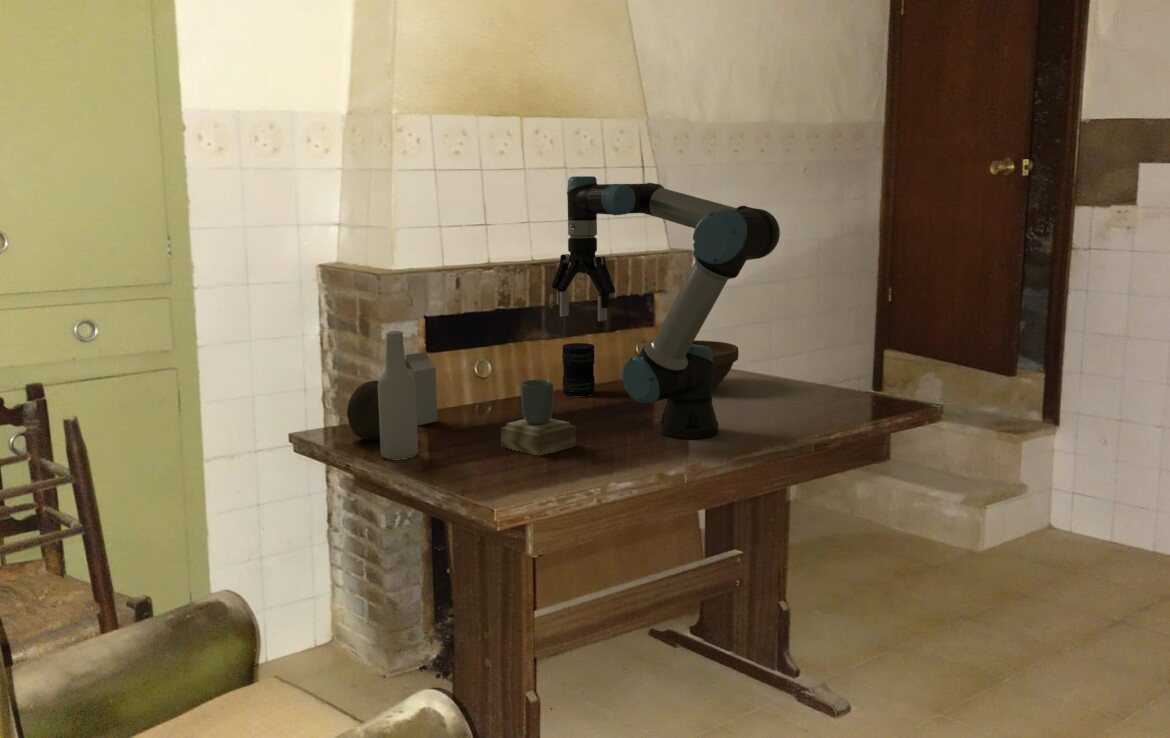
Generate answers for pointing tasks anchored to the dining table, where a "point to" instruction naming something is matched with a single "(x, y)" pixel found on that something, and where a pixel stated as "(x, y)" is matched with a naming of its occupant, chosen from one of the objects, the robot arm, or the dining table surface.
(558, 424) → the pedestal
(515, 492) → the dining table surface
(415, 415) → the alcohol
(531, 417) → the cup
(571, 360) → the storage jar
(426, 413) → the milk carton
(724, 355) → the flower pot
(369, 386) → the black ball
